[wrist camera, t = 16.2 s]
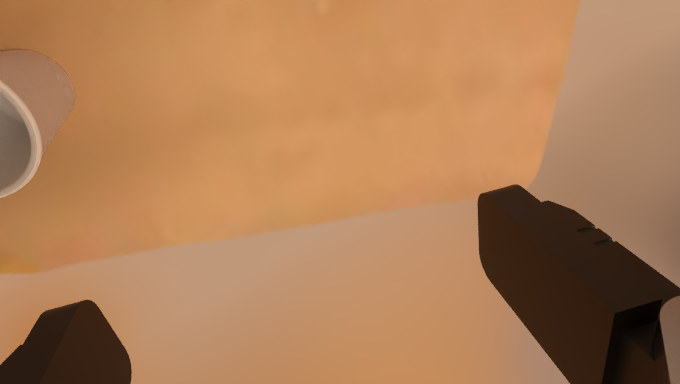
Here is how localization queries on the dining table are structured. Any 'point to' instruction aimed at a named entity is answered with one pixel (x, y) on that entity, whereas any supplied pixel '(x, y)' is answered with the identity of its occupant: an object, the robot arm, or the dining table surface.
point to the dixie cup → (29, 113)
